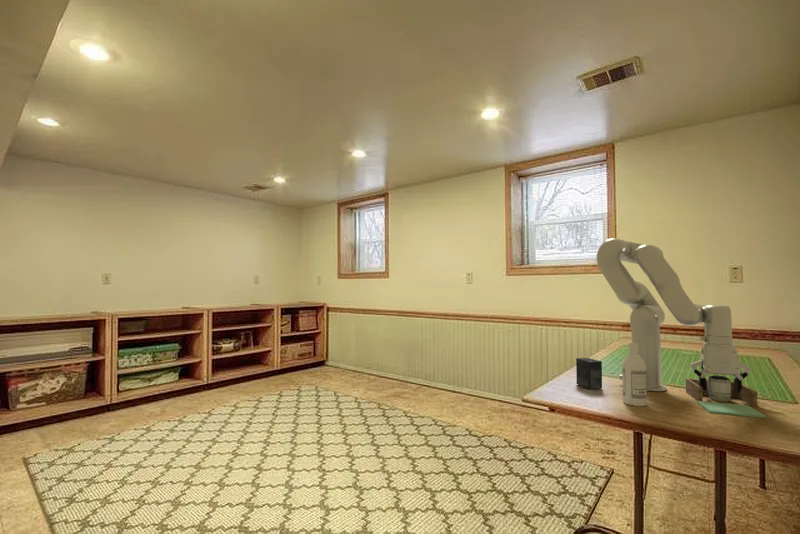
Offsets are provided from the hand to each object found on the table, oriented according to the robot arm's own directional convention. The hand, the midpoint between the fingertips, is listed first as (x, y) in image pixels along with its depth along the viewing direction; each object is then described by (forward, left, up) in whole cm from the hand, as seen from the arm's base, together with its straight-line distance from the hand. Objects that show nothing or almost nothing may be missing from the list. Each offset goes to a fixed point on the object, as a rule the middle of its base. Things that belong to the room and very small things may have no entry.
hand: (720, 390), depth 139 cm
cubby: (0, 0, -3) cm, 3 cm away
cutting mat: (-2, -13, -3) cm, 13 cm away
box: (-41, +2, -3) cm, 42 cm away
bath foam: (-29, -16, -3) cm, 34 cm away
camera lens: (0, 0, -3) cm, 3 cm away
